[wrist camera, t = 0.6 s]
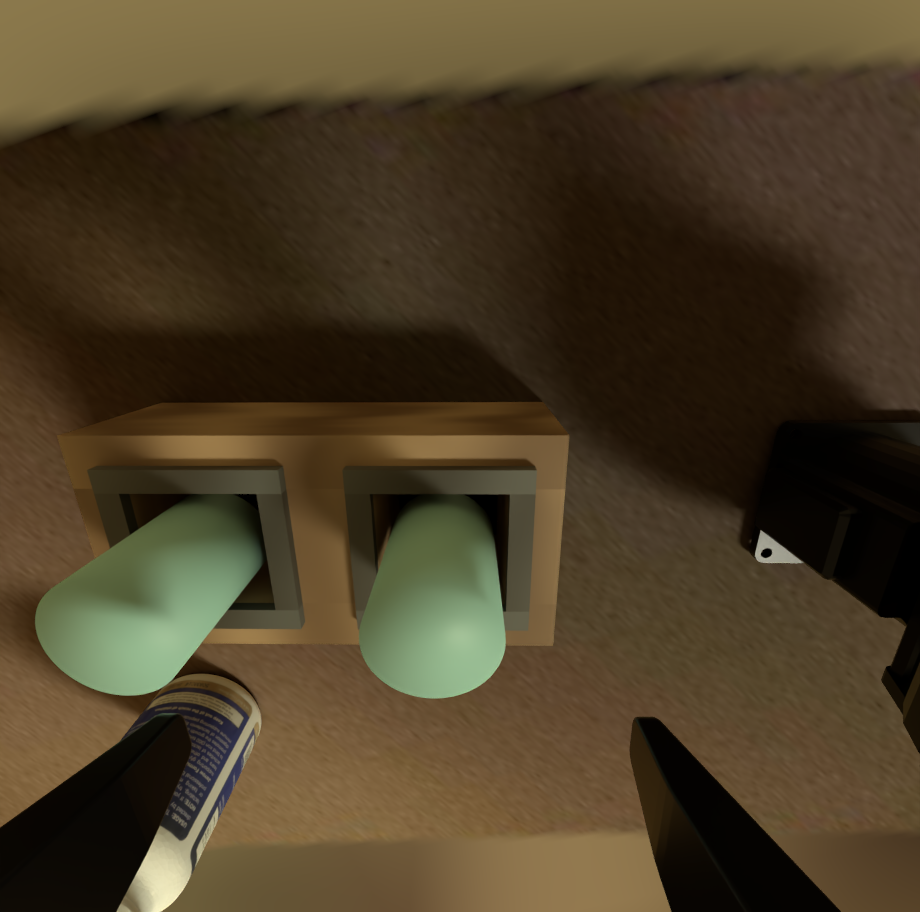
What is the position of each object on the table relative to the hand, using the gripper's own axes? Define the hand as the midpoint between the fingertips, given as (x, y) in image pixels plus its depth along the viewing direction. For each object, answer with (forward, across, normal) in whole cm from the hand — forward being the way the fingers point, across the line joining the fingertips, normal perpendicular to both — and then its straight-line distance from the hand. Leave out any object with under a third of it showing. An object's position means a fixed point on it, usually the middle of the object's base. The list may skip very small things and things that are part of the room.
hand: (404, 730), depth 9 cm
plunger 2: (+8, 0, 0) cm, 8 cm away
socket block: (+12, +4, 0) cm, 12 cm away
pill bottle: (+12, +13, +13) cm, 22 cm away
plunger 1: (+8, +8, 0) cm, 11 cm away
